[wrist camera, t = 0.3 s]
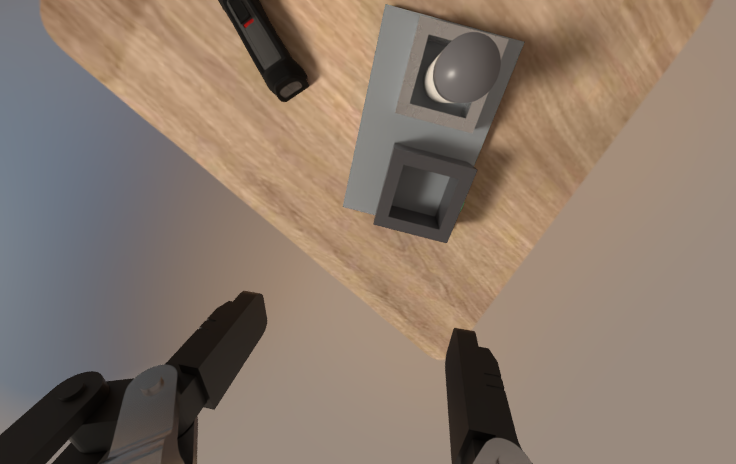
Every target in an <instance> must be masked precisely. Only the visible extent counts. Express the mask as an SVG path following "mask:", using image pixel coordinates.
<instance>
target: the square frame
mask: <svg viewBox="0 0 736 464" xmlns="http://www.w3.org/2000/svg"><path fill="white" fill-rule="evenodd" d="M468 32H479V33H483V34H485V35H487V36H489V37H490V38H491V39H492V40H493V41H494V42H495V43H496V45H497V47H498V49H499V52H500V57H501V59H502V56H503V53H504V51H505V48H506V46H507V43H508V40H509V39H506V38H502V37H499V36H495V35H491V34H488V33H484V32H480V31H476V30H473V29H469V28H465V27H462V26H458V25H454V24H451V23H447V22H443V21H440V20H436V19H432V18H429V17H425V16H421V15H420V18H419V22H418V25H417V29H416V33H415V37H414V41H413V45H412V48H411V52H410V56H409V60H408V64H407V68H406V72H405V76H404V79H403V83H402V87H401V91H400V95H399V99H398V103H397V107H396V110H395V113H397V114H401V115H404V116H408V117H412V118H416V119H419V120H423V121H427V122H431V123H435V124H438V125H442V126H446V127H450V128H453V129H457V130H461V131H465V132H469V133H472V134H473V131H474V129H475V126H476V123H477V121H478V118H479V116H480V113H481V110H482V108H483V105H484V103H485V100H486V97H487V95H488V93H487V94H486V95H484V96H483V97H482V98H480V99H478V100H476V101H473V102H470V103H465V104H464V107H463V110H462V113H461V115H460V117H458V116H454V115H450V114H447V113H443V112H439V111H435V110H432V109H428V108H424V107H420V106H417V105H413V104H410V100H411V96H412V93H413V89H414V85H415V82H416V78H417V75H418V71H419V67H420V64H421V60H422V57H423V53H424V49H425V46H426V42H427V41H428V42H432V43H436V44H439V45H443V46H447V45H448V44H449V43H450V42H451V41H452V40H453V39H455V38H456V37H458V36H460V35H462V34H464V33H468Z"/></svg>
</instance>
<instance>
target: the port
mask: <svg viewBox="0 0 736 464" xmlns="http://www.w3.org/2000/svg"><path fill="white" fill-rule="evenodd" d="M403 165H406V166H410V167H414V168H418V169H421V170H425V171H429V172H433V173H437V174H440V175H444V176H448V177H450V178H449V180H448V183H447V186H446V188H445V191H444V194H443V196H442V199H441V202H440V204H439V207H438V210H437V212H436V215H435V216H431V215H427V214H423V213H419V212H415V211H411V210H408V209H404V208H400V207H396V206H392V202H393V199H394V195H395V192H396V189H397V185H398V182H399V178H400V175H401V172H402V168H403ZM476 172H477V169H476V168H475V167H473V166H472V165H471V164H470V163H469V162H466V161H462V160H458V159H454V158H451V157H447V156H443V155H439V154H435V153H432V152H428V151H424V150H420V149H416V148H412V147H409V146H405V145H401V144H397V143H394V146H393V150H392V154H391V157H390V161H389V165H388V168H387V172H386V176H385V180H384V183H383V187H382V191H381V194H380V198H379V202H378V206H377V209H376V213H375V219H374V225H377V226H381V227H385V228H389V229H393V230H397V231H401V232H405V233H409V234H412V235H416V236H420V237H424V238H428V239H432V240H436V241H440V242H444V243H447V242H448V239H449V237H450V235H451V232H452V230H453V227H454V225H455V223H456V220H457V218H458V215H459V213H460V212H461V210H462V207H463V205H464V203H465V202H464V201H465V199H466V196H467V194H468V191H469V189H470V187H471V184H472V182H473V179H474V177H475V175H476Z"/></svg>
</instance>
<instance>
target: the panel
mask: <svg viewBox="0 0 736 464" xmlns="http://www.w3.org/2000/svg"><path fill="white" fill-rule="evenodd" d="M420 15H421V16H425V17H429V18H432V19H436V20H440V21H443V22H447V23H451V24H454V25H458V26H462V27H465V28H469V29H473V30H476V31H480V32H484V33H488V34H491V35H495V36H499V37H502V38H506V39H509V40H508V43H507V46H506V48H505V51H504V53H503V56H502V59H501V66H500V72H499V75H498V78H497V80H496V82H495V84H494V86H493V87H492V88H491V90H490V91H489V92H488V95H487V97H486V100H485V103H484V105H483V108H482V110H481V113H480V116H479V118H478V121H477V123H476V126H475V129H474V131H473V134H472V133H469V132H465V131H461V130H457V129H453V128H450V127H446V126H442V125H438V124H435V123H431V122H427V121H423V120H419V119H416V118H412V117H408V116H404V115H401V114H397V113H395V110H396V107H397V103H398V99H399V95H400V91H401V87H402V83H403V79H404V76H405V72H406V68H407V64H408V60H409V56H410V52H411V48H412V45H413V41H414V37H415V33H416V29H417V25H418V22H419V18H420ZM523 45H524V42H523V41H520V40H516V39H512V38H509V37H505V36H501V35H498V34H494V33H490V32H486V31H483V30H479V29H475V28H472V27H468V26H464V25H461V24H457V23H453V22H450V21H446V20H442V19H439V18H435V17H431V16H428V15H424V14H420V13H417V12H413V11H409V10H405V9H402V8H398V7H394V6H391V5H387V4H385V9H384V13H383V18H382V23H381V28H380V32H379V37H378V42H377V47H376V51H375V56H374V61H373V66H372V70H371V75H370V80H369V85H368V89H367V94H366V99H365V104H364V109H363V113H362V118H361V123H360V128H359V132H358V137H357V142H356V147H355V151H354V156H353V161H352V166H351V170H350V175H349V180H348V185H347V189H346V194H345V199H344V204H343V207H345V208H349V209H353V210H357V211H361V212H365V213H369V214H373V215H375V213H376V209H377V206H378V202H379V198H380V194H381V191H382V187H383V183H384V180H385V176H386V172H387V168H388V165H389V161H390V157H391V154H392V150H393V146H394V143H397V144H401V145H405V146H409V147H412V148H416V149H420V150H424V151H428V152H432V153H435V154H439V155H443V156H447V157H451V158H454V159H458V160H462V161H466V162H469V163H470V164H471V165H472V166H473V167H474V165H475V162H476V160H477V157H478V155H479V153H480V150H481V148H482V145H483V143H484V140H485V138H486V135H487V133H488V131H489V128H490V126H491V123H492V121H493V118H494V116H495V113H496V111H497V109H498V106H499V104H500V101H501V99H502V96H503V94H504V91H505V89H506V86H507V84H508V82H509V79H510V77H511V74H512V72H513V69H514V67H515V64H516V62H517V60H518V57H519V55H520V52H521V50H522V47H523ZM445 47H446V46H443V45H439V44H436V43H432V42H428V41H427V42H426V46H425V49H424V53H423V57H422V60H421V64H420V67H419V71H418V75H417V78H416V82H415V85H414V89H413V93H412V96H411V100H410V104H413V105H417V106H420V107H424V108H428V109H432V110H435V111H439V112H443V113H447V114H450V115H454V116H458V117H460V115H461V113H462V110H463V107H464V104H465V103H438V102H434V101H432V100H431V99H430V98H429V97H428V96H427V95H426V93H425V91H424V87H423V78H424V74H425V72H426V70H427V68H428V67H429V66H430V64H431V63H432V62H433V61H434V60H435V59H436V58H437V56H438V55H439V54H440V53H441V52H442V51H443V50H444V49H445ZM449 178H450V177H448V176H444V175H440V174H437V173H433V172H429V171H425V170H421V169H418V168H414V167H410V166H406V165H403V168H402V172H401V175H400V178H399V182H398V185H397V189H396V192H395V195H394V199H393V202H392V206H396V207H400V208H404V209H408V210H411V211H415V212H419V213H423V214H427V215H431V216H435V215H436V212H437V210H438V207H439V204H440V202H441V199H442V196H443V194H444V191H445V188H446V186H447V183H448V180H449Z"/></svg>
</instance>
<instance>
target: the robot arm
mask: <svg viewBox="0 0 736 464" xmlns="http://www.w3.org/2000/svg"><path fill="white" fill-rule="evenodd" d="M266 325H267V316H266V310H265V304H264V298H263V295H262V294H260V293H254V292H248V291H243V292H241V293H240V294H239V295H238V297H237V298H236V299H235V300H234V301H233V302H232V301H228V302H226V303H225V304H223V305H222V306H220V307H218V308H217V309H216V310H215V311H214V312H213V313H212V314H211V315H210V317H208V319H207V321H205V322H204V323H203V324H202V325H201V326H200V328H199V329H197V330H196V331H195V333H194V334H193V335H192V336H191V337H190V338H189V339H188V340H187V341H186V342H185V343H184V344H183V346H182V347H181V348H180V349H179V350H178V351H177V352H176V353H175V354H174V355H173V356H172V357H171V358H170V360H169V361H168V362H167V363H166V364H164V365H158V366H154V367H152V368H150V369H147V370H145V371H144V372H142V373H141V374H139V375H138V376H137V377H136V378H133V379H124V380H116V381H107V382H106V381H105V379H104V378H103V376H102V375H101V374H100V373H98V372H93V371H91V372H84V373H81V374H77V375H75V376H73V377H71V378H69V379H67V380H65V381H63V382H62V383H60V384H59V385H57V386H56V387H55V388H54V389H52V390H51V391H50V392H49V393H48V394H47V395H46V396H44V397H43V398H42V399H41V400H40V401H39V402H38V403H36V404H35V405H34V406H33V407H32V408H31V409H29V411H27V412H26V413H25V414H24V415H23V416H21V417H20V418H19V419H18V420H17V421H16V422H15V423H13V424H12V425H11V426H10V427H9V428H8V429H7V430H5V431H4V432H3V433H2V434H1V435H0V464H46V463H47V462H48V461H49V460H50V459H51V458H52V456H53V455H54V454H55V453H56V452H57V451H58V450H59V449H60V448H61V447H62V446H63V445H64V444H65V443H66V442H67V440H70V442H71V443H70V444H69V445H68V447H67V448H66V449H65V450H64V451H63V452H62V453H61V454H60V455H59V456H58V457H57V458H56V460H55V461H54V462H53V463H52V464H197V438H198V417H197V415H198V414H199V413H200V411H201V410H202V408H203V407H206V408H210V409H215V408H216V406H217V405H218V403H219V402H220V400H221V399H222V397H223V396H224V394H225V393H226V391H227V389H228V388H229V386H230V385H231V383H232V382H233V380H234V379H235V377H236V375H237V374H238V372H239V371H240V369H241V368H242V366H243V364H244V363H245V361H246V360H247V358H248V357H249V355H250V354H251V352H252V351H253V349H254V347H255V346H256V344H257V343H258V341H259V340H260V338H261V337H262V335H263V333H264V331H265V329H266ZM445 373H446V387H447V401H448V416H449V429H450V443H451V458H452V464H532V463H531V461H530V460H529V458H528V457H527V455H526V454H525V453H524V452H523V450H522V449H521V447H520V444H519V442H518V439H517V436H516V432H515V428H514V424H513V420H512V416H511V412H510V408H509V405H508V401H507V397H506V393H505V391H504V386H503V381H502V379H501V374H500V370H499V366H498V362H497V360H496V359H495V358H494V356H493V354H492V353H491V351H490V350H489V349H488V348H483V347H478V343H477V337H476V333H475V332H474V331H470V330H464V329H458V328H454V330H453V333H452V336H451V339H450V343H449V346H448V350H447V354H446V361H445Z"/></svg>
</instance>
